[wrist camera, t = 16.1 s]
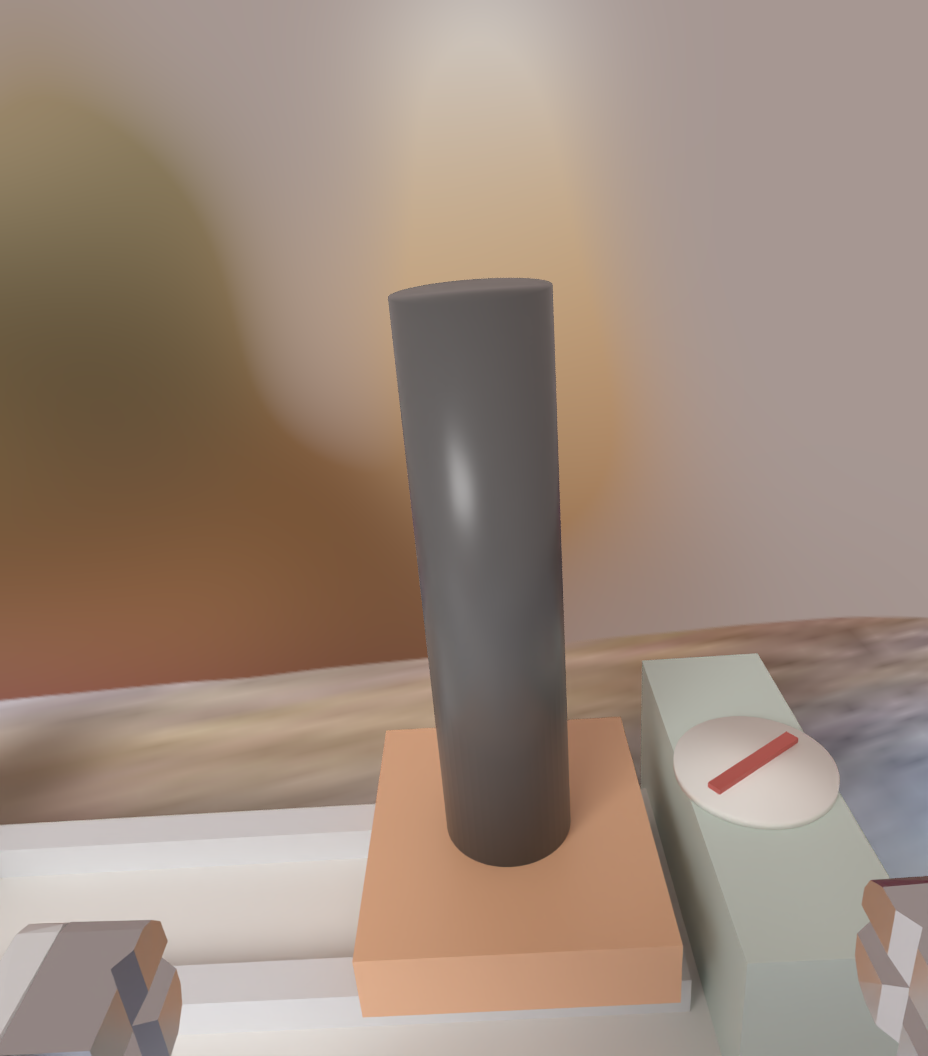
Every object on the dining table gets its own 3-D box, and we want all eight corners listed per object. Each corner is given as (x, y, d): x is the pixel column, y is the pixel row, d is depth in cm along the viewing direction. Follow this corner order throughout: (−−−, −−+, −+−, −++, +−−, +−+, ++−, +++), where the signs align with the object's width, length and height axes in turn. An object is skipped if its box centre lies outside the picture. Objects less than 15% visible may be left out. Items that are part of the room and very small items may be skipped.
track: (-441, 1182, 21) (-587, 1013, 19) (-133, 838, 32) (-198, 702, 30) (906, 1127, 20) (947, 939, 18) (752, 788, 31) (764, 641, 29)
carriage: (362, 1017, 21) (236, 344, 14) (393, 776, 29) (322, 278, 22) (680, 1002, 21) (708, 308, 14) (620, 763, 29) (619, 255, 22)
